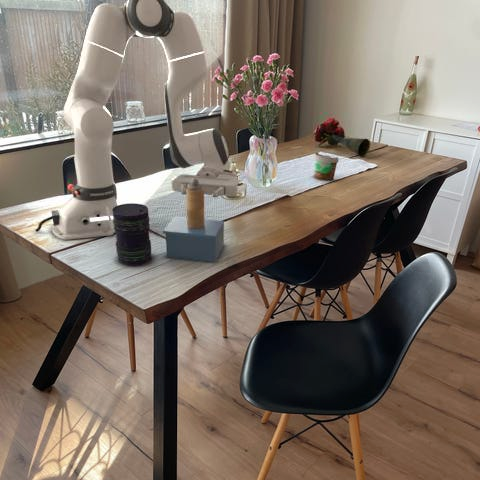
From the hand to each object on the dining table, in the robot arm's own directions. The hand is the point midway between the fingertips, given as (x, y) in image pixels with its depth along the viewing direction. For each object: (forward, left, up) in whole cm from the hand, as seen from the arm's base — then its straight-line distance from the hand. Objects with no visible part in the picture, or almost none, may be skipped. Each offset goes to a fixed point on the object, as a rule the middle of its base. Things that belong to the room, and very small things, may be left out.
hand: (199, 193), depth 142 cm
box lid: (-3, -3, -9) cm, 10 cm away
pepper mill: (-3, -4, -8) cm, 10 cm away
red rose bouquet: (+126, +80, -16) cm, 150 cm away
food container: (+81, +41, -16) cm, 92 cm away
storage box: (-3, -4, -16) cm, 17 cm away
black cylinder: (-21, -1, -16) cm, 27 cm away
